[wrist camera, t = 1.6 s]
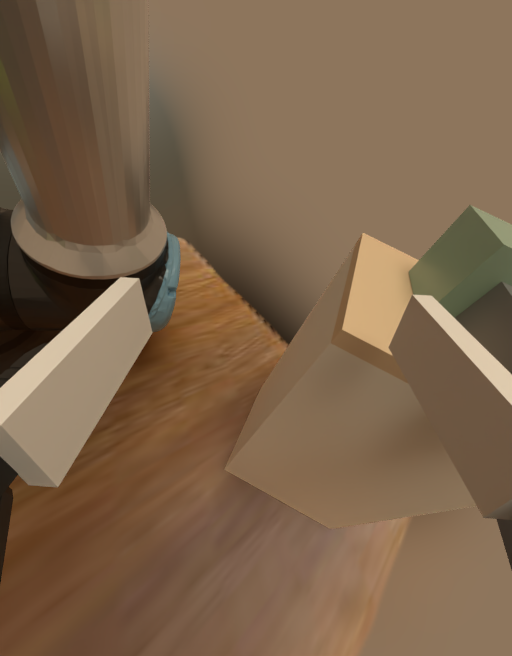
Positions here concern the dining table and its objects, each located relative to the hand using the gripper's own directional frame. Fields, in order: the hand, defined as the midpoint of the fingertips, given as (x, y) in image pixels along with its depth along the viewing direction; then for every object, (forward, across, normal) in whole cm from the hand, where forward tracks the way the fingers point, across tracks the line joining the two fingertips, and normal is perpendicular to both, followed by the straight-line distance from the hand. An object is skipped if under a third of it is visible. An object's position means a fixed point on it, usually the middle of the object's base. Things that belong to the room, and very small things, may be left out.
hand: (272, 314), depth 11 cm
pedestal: (+12, +5, -32) cm, 35 cm away
